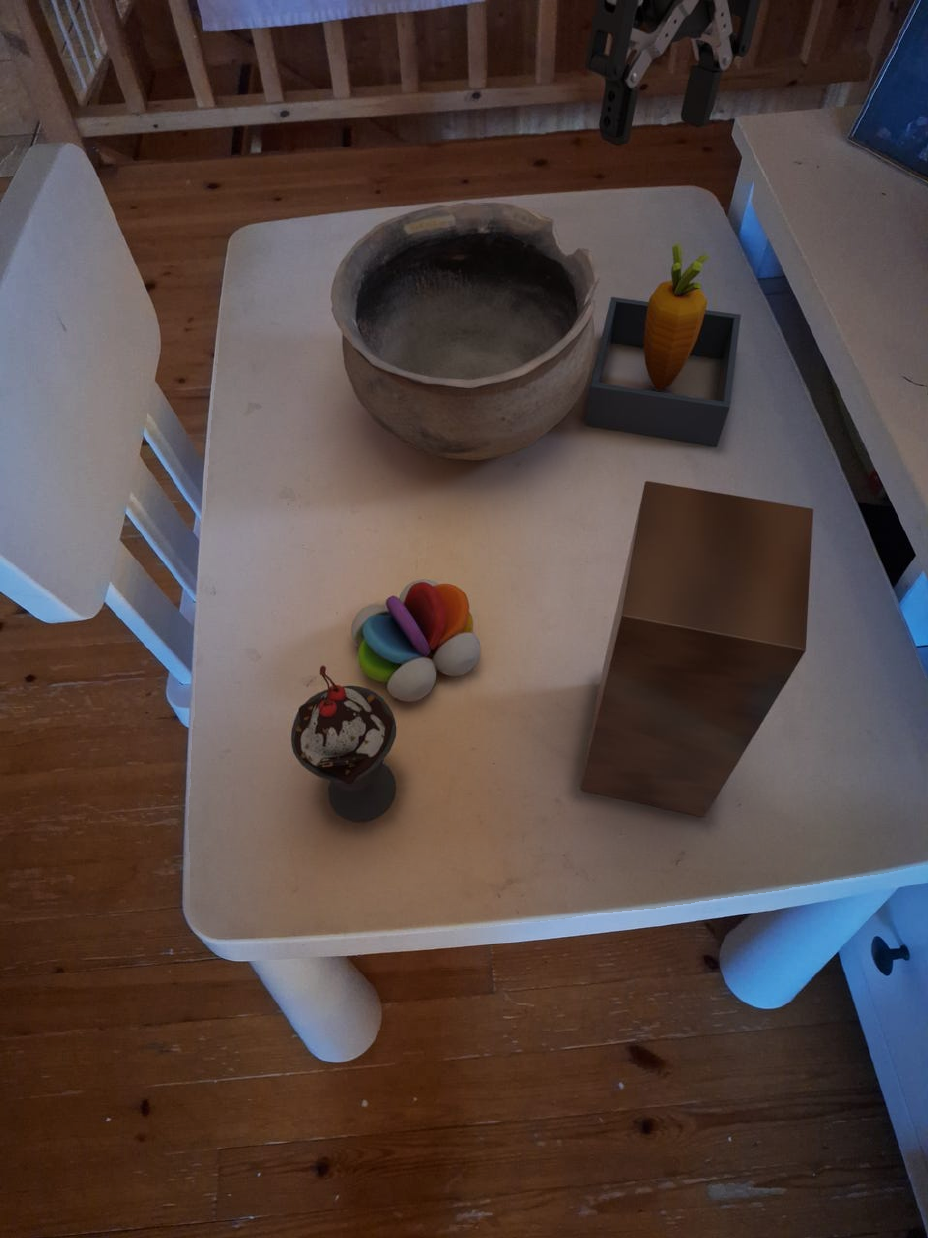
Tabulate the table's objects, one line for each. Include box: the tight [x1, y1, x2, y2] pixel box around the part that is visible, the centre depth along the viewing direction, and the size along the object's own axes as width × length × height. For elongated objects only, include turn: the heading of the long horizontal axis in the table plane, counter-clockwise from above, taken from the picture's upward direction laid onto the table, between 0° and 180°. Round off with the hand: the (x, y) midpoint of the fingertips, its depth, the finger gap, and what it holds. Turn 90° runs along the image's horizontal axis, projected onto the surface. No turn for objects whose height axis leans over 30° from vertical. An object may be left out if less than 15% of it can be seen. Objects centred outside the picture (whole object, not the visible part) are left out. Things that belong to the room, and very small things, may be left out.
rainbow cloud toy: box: [350, 578, 481, 702], centre depth 69 cm, size 8×10×7 cm
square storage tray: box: [584, 296, 742, 447], centre depth 84 cm, size 12×12×5 cm
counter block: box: [579, 480, 814, 818], centre depth 57 cm, size 9×9×24 cm
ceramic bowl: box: [330, 202, 601, 461], centre depth 79 cm, size 22×22×15 cm
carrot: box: [643, 243, 710, 392], centre depth 80 cm, size 5×5×15 cm
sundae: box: [290, 665, 397, 823], centre depth 59 cm, size 7×7×15 cm
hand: (654, 132), depth 66 cm, fingers open, 8 cm apart
